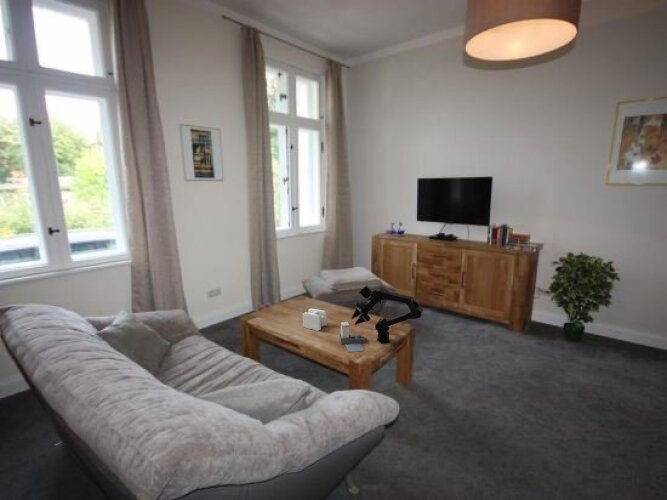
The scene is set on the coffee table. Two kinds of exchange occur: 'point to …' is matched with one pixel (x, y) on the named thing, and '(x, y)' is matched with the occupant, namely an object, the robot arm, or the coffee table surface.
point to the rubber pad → (354, 347)
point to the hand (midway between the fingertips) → (353, 321)
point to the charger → (344, 330)
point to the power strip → (352, 339)
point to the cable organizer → (314, 319)
